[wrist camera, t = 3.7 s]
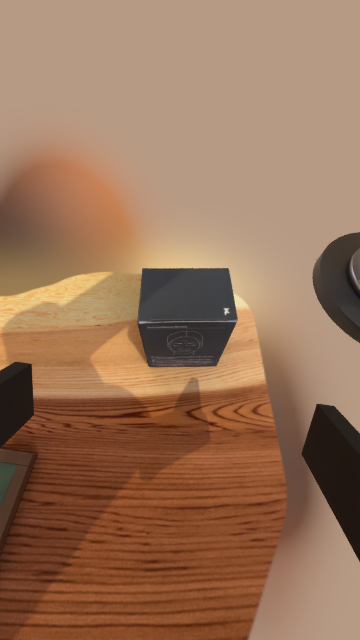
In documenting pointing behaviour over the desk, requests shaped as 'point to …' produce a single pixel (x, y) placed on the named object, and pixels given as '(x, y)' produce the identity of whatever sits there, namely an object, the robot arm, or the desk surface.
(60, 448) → the desk surface
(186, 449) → the desk surface
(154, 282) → the box
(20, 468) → the chalkboard
